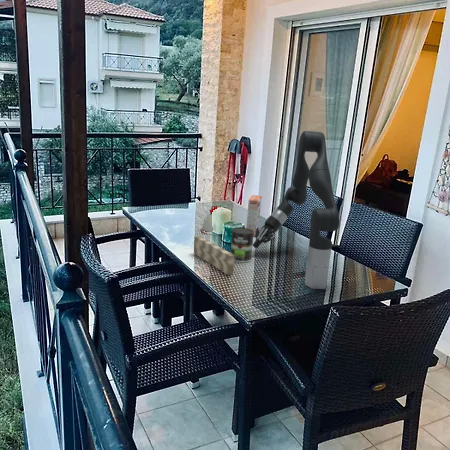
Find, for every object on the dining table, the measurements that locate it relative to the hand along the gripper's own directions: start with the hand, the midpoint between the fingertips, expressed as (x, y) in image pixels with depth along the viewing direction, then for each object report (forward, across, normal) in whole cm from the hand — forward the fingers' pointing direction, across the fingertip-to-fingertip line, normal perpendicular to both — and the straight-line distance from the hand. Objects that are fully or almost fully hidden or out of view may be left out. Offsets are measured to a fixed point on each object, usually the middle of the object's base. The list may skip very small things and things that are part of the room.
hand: (254, 246), depth 221 cm
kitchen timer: (+1, -43, +6) cm, 43 cm away
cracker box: (-13, -32, +20) cm, 40 cm away
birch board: (+20, 0, -14) cm, 24 cm away
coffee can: (+9, 0, -2) cm, 9 cm away
